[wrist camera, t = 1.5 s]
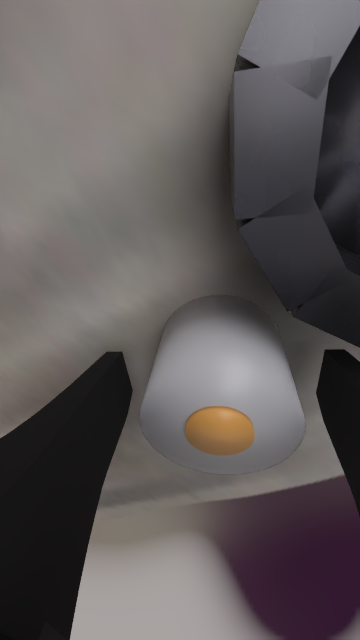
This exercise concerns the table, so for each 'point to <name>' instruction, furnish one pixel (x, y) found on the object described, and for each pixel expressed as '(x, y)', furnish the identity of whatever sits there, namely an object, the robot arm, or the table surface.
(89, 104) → the table surface
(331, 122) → the dark grey round ring
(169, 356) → the boiled egg half
